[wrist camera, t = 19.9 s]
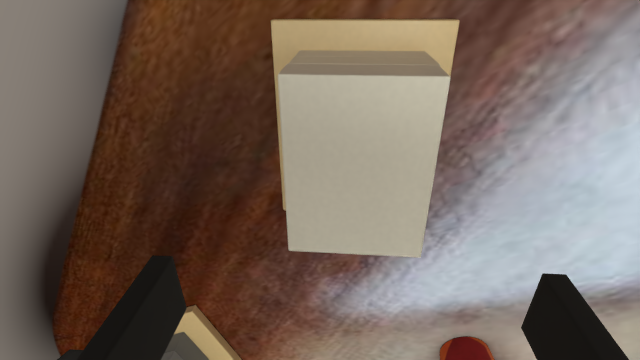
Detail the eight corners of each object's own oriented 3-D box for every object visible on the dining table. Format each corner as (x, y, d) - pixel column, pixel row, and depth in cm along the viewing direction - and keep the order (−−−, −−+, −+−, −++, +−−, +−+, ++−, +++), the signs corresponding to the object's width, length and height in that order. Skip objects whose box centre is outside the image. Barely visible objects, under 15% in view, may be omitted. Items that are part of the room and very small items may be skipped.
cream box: (273, 18, 26) (252, 27, 21) (456, 18, 25) (483, 27, 20) (284, 204, 33) (271, 244, 28) (425, 210, 32) (438, 253, 27)
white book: (286, 63, 21) (277, 74, 19) (439, 64, 21) (451, 76, 18) (294, 225, 27) (288, 251, 24) (414, 231, 26) (420, 258, 24)
